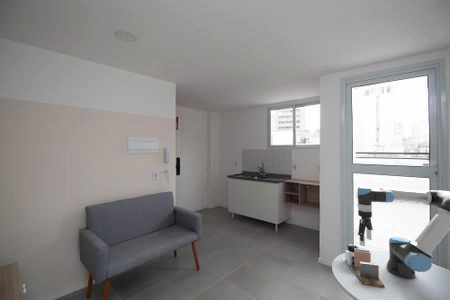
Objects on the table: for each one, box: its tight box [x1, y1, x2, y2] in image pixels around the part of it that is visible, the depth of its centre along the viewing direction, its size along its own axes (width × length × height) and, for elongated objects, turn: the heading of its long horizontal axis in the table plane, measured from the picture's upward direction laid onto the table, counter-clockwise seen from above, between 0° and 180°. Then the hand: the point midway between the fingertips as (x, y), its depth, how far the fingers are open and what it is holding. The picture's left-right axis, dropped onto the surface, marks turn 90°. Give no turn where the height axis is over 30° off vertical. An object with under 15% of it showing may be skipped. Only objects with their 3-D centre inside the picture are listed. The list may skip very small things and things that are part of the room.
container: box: [345, 244, 359, 266], centre depth 151 cm, size 8×8×13 cm
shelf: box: [351, 264, 385, 288], centre depth 135 cm, size 12×21×2 cm, turn 162°
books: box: [354, 248, 372, 267], centre depth 143 cm, size 10×2×12 cm, turn 72°
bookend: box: [360, 262, 380, 280], centre depth 131 cm, size 10×2×9 cm, turn 72°
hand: (365, 242), depth 133 cm, fingers open, 13 cm apart
